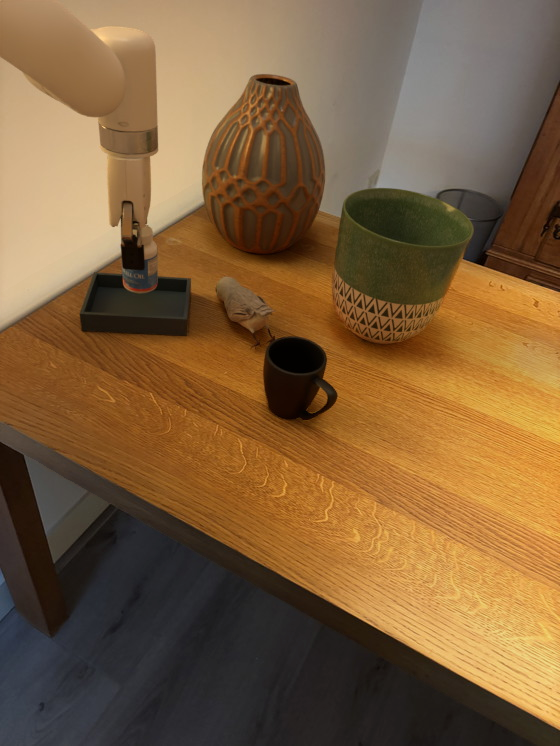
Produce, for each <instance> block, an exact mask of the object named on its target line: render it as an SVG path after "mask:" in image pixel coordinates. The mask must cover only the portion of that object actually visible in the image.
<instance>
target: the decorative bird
mask: <svg viewBox="0 0 560 746" xmlns="http://www.w3.org/2000/svg"><path fill="white" fill-rule="evenodd" d="M215 293H216V298H217V299H218V300H219V301H223V302H224V308H225V310H226V313H227V317H228V318H229V320H230V321H231V322H235V323H238V324H239V325H240V326H242V327H243V328H245V329H247V330H248V331H249V332H251V334H252V337H253V339H254V341H255V344H253V345H252V346H251V347H250V350H252V349H253V348H254V349H255V350H256V349H257V347H262V343H261V339H257V337H256V333H255V332H257V331H260V330H261V329H263V328H266V329H267V332H268V335H269V337H270V339H269V340H267V341H266V342H265V345H267V344H268V343H269V344H270V343H271V342H272V341H273V340H275V339H276V334H274V335H272V333H271V329H270V325H269V320H270V317H269V316H274V314H273V313H276V310H273V308H271V307H270V306H269V305H268V304H267V302H266V301H265V299H264V298H263V297H262V296H260V295H257V294H256V293H255V292H254V291H252V290H251V289H249V288H247V287H244V286H243V285H242V284H240V283H239V281H238V280H237V279H236V278H234V277H232V276H226V275H225V276H222V277H221V278H219V280H217V282H216V285H215Z"/></svg>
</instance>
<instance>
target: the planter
mask: <svg viewBox="0 0 560 746" xmlns="http://www.w3.org/2000/svg"><path fill="white" fill-rule="evenodd" d="M474 229H475V228H474V225H473V223H472V221H471V220H470V219H469V217H468V216H467V215H466V214H465V213H464V212H462V211H461V210H459V209H458V208H457V207H455V206H453V205H451V204H450V203H447V202H446V201H443V200H441V199H439V198H436V197H434V196H431V195H427V194H424V193H420V192H416V191H412V190H407V189H401V188H394V187H372V188H364V189H360V190H357V191H354V192H352V193H350V194H349V195H347V196H346V198H344V200H343V202H342V208H341V213H340V219H339V227H338V234H337V239H336V240H337V241H336V249H335V255H334V263H333V270H332V277H331V293H332V294H331V295H332V302H333V307H334V310H335V312H336V314H337V316H338V317H339V319H340V321H341V322H342V324H343V325H344V326H345V327H346V328H347V329H348V330H349V331H350V332H351V333H353V334H354V335H356V336H357V337H358V338H361V339H362V340H364V341H368V342H370V343H374V344H380V345H381V344H382V345H389V344H396V343H401V342H405V341H406V340H409V339H412V338H414V337H415V336H418V335H419V334H420V333H421V332H423V331H424V330H425V329H426V328H427V327H428V326H429V325H430V324H431V322H432V321H433V320H434V318H435V317H436V315H437V314H438V312H439V311H440V309H441V307H442V305H443V303H444V301H445V299H446V296H447V294H448V292H449V290H450V288H451V285H452V284H453V282H454V279H455V276H456V274H457V272H458V269H459V268H460V265H461V264H462V261H463V259H464V257H465V255H466V252H467V250H468V249H469V245H470V243H471V241H472V239H473V235H474V232H475V230H474Z"/></svg>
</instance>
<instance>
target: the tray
mask: <svg viewBox="0 0 560 746" xmlns="http://www.w3.org/2000/svg"><path fill="white" fill-rule="evenodd" d="M191 294H192V278H191V277H179V276H178V277H176V276H175V277H174V276H161V275H160V276H159V275H158V283H157V287H156V288H155V289H154V290H152V291H150V292H147V293H134V292H131V291H129V290H127V289H126V288H125V287H124V285H123V274H122V273H114V272H113V273H111V272H97V271H96V272H95V271H94V272H93V274H92V277H91V280H90V281H89V285H88V289H87V290H86V294H85V296H84V299H83V302H82V305H81V308H80V311H79V322H80V326H81V331H82V332H99V333H118V334H119V333H120V334H137V335H138V334H140V335H141V334H142V335H157V336H158V335H159V336H160V335H161V336H178V337H179V336H181V337H187V336H188V330H189V318H190V308H191V307H190V306H191V298H192V297H191Z"/></svg>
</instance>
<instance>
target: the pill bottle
mask: <svg viewBox="0 0 560 746" xmlns="http://www.w3.org/2000/svg"><path fill="white" fill-rule="evenodd" d="M136 225H138V224H136ZM133 234H134V235H136V237H137V230H133ZM153 238H154V231H153V228H152V227H150V226H149V225H148V226H147V224H145V226H144V227H143V228H142V245H144V260H145V268H144V270H130V269H124V268H123V267H122V266H121V270H122V271H121V272H122V273H121V274H123V285H124V287H125V288H126V289H127V290H129V291H131V292H134V293H147V292H150V291H152V290H154V289H155V288H156V287H157V283H158V276H159V275H158V274H159V273H158V271H159V267H158V261H159V259H158V257H159V256H158V254H159V253H158V245H157V243H156V242H155V240H153ZM120 255H121V254H120ZM121 258H122V255H121Z"/></svg>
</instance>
